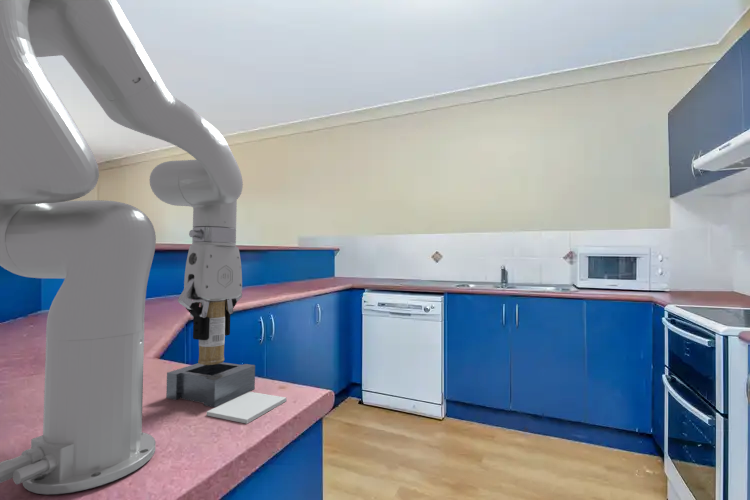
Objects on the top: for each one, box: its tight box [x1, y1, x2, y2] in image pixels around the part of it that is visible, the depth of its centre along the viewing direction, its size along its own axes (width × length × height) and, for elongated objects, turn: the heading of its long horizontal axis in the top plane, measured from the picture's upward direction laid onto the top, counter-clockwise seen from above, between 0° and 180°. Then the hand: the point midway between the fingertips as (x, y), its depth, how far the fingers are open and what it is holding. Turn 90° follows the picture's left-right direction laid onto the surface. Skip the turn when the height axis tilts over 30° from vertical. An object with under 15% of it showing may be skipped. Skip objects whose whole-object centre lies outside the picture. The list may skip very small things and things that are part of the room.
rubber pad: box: [206, 391, 287, 424], centre depth 62 cm, size 10×8×1 cm
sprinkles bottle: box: [197, 297, 226, 365], centre depth 69 cm, size 5×5×13 cm
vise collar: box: [166, 361, 256, 408], centre depth 69 cm, size 10×11×4 cm
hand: (211, 336), depth 69 cm, fingers closed on sprinkles bottle, 4 cm apart
